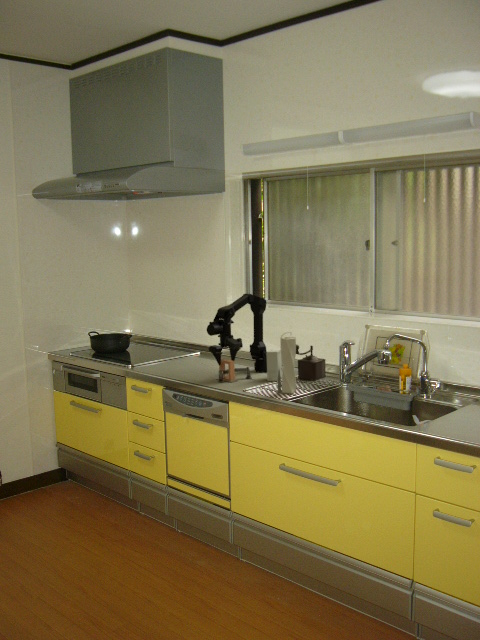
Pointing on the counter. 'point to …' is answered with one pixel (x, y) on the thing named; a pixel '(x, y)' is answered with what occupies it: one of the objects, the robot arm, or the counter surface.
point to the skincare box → (273, 364)
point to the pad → (229, 381)
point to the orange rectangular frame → (231, 369)
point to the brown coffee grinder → (310, 366)
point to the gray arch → (247, 369)
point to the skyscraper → (287, 365)
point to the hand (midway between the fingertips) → (226, 363)
